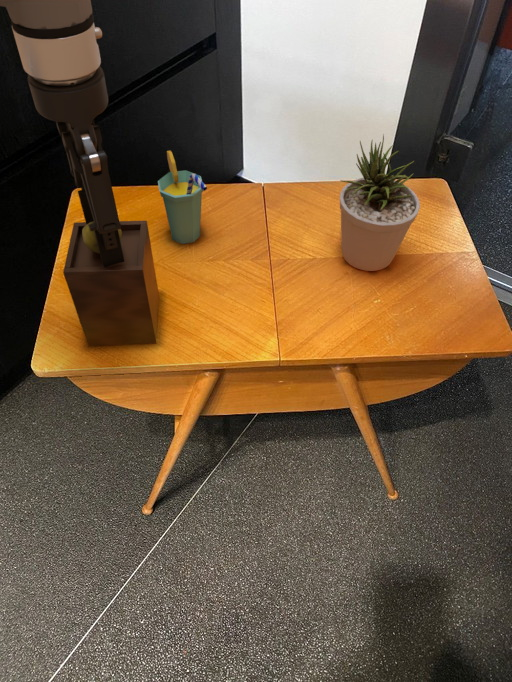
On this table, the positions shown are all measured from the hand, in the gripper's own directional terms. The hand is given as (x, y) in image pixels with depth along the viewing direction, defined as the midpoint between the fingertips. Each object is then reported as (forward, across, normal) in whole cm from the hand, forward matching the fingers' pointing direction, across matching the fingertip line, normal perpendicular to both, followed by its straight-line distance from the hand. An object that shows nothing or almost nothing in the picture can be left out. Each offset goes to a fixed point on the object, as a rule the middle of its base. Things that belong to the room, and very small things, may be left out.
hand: (105, 245), depth 73 cm
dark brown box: (+15, 0, 0) cm, 15 cm away
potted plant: (+15, -3, -43) cm, 46 cm away
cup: (+15, +14, -16) cm, 26 cm away
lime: (+1, 0, 0) cm, 1 cm away
